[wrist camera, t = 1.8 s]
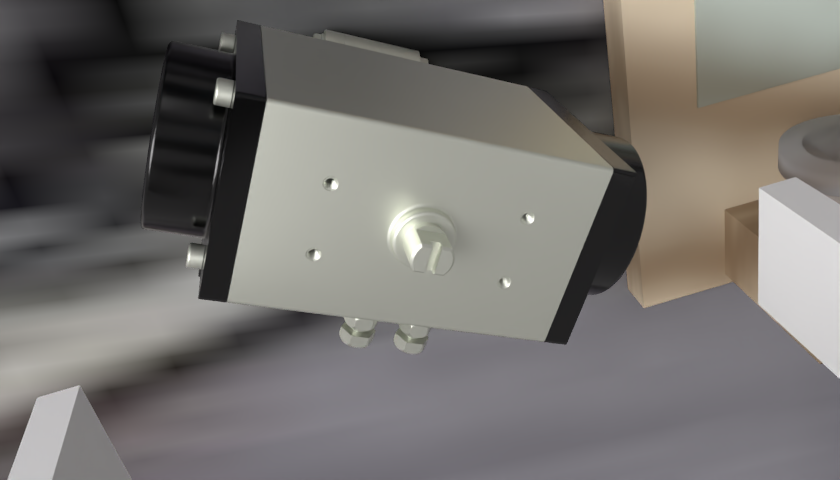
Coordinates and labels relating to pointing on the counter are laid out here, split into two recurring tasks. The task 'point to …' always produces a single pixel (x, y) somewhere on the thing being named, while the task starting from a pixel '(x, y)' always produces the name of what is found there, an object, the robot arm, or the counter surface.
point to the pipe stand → (720, 127)
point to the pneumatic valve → (385, 188)
